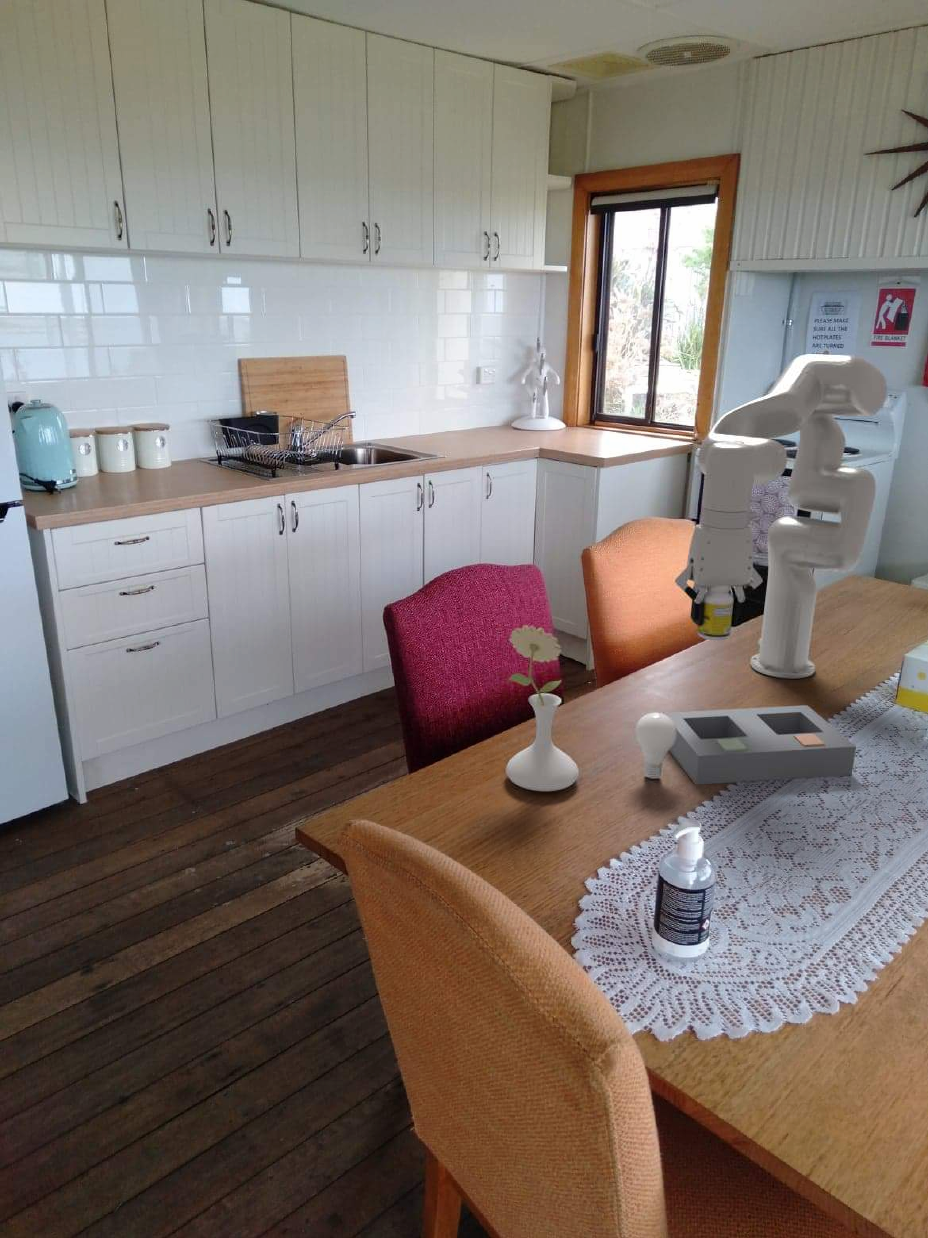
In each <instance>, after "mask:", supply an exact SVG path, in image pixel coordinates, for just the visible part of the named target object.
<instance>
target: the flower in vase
mask: <svg viewBox="0 0 928 1238" xmlns="http://www.w3.org/2000/svg"><path fill="white" fill-rule="evenodd" d="M508 640H509V642H510V643H511V644H512V647H513V648H514V649H516V652H517V653H518V654H520V655H522V656H523V657H524V658H525V659H526V658H527V659H528V658H530V662H529V670H528V674H529V675H528V676H529V677H528V676H525V675H524V674H522V673H518V672H516V673H514V674H512V675H511V676H510V677H509V678H508V679H507V680H508V681H512V682H515V683H518V684H520V685H522V686H524V687H526V686H527V687H528V686H530V684H531V685H532V687H533V688H534V689H535V692H536V694H532V695H530V696H529V697H528V698H527V699H528V700H527V701H528V702H529V704H530V705H531V706H532V709H533V711H534V715H535V723H536V736H535V740H534V742H533V743H532V744H531V745H530V746H528V747H526V748H524V749H522V750H521V751H519V752H517V753H516V754H515V755H514V756H512V757H511V758H510V759H509V761H508V762H507V764H506V767H505V773H506V775H507V777H508V778H509V779H510V782H512V783H513V784H515V785H517V786H518V787H520V788H523V789H526V790H531V791H535V792H556V791H559V790H564V789H567V788H568V787H570V786H571V785H573V784H574V783H575V781H576V780H578V778H579V774H580V771H579V768H578V765H577V764H576V762H575V761H574V760H573V759H572V758H571V757H570V756H569V755H568V754H567V753H565V751H562V750H561V749H559V748H558V747H556V746H555V744H553V741H552V723H553V719H554V714H555V712H556V709H557V708H558V707H559V706H560V704H562V698H561V697H559V696H558V695H555V694H552V693H549V692H551V691H553V690H555V689H556V688H557V687H559V686H560V684H561V683H562V679H560V680H555V681H549V682H547V683H546V684H544V685H543V686H542V687H541V688H540V689H538V687H537V686H536V683H535V682H534V680H533V677H532V670H533V669H532V668H533V662H534V661H535V662H536V661H537V662H540V663H544V662H547V663H550V662H551V661H557V660H558V657H559V656H560V654H561V653H562V650H561V648H562V647H561V645H560V644H558V638H557V637H554V635H553V633H549V632H548V633H547V632H545V629H544V628H543V627H539V628H537V629H536V627H535V626H533V625H530V626H528V625H526V624H525V625H523V626H522V628H520V627H516V628H515V630H512V634H510V638H509V639H508Z"/></svg>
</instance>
